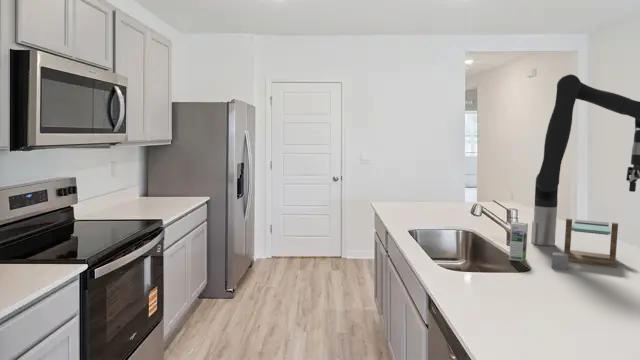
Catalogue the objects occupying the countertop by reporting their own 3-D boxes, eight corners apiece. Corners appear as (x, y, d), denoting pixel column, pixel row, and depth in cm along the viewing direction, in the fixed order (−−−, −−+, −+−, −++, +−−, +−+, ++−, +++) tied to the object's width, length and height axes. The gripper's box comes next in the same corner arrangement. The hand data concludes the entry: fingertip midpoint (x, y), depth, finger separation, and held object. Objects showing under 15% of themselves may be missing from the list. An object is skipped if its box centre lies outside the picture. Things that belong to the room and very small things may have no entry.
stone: (551, 267, 173) (552, 254, 173) (552, 264, 178) (553, 251, 177) (566, 270, 171) (567, 256, 170) (567, 267, 175) (568, 253, 175)
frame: (565, 251, 201) (567, 217, 199) (615, 257, 191) (617, 221, 190) (561, 260, 184) (564, 223, 183) (616, 267, 175) (618, 229, 174)
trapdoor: (573, 228, 200) (574, 219, 200) (609, 232, 194) (610, 222, 193) (570, 236, 183) (571, 226, 183) (609, 241, 176) (610, 230, 176)
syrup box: (508, 260, 183) (510, 223, 182) (510, 257, 189) (512, 221, 187) (524, 262, 181) (527, 224, 179) (526, 258, 186) (528, 222, 185)
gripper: (622, 153, 203) (619, 190, 204) (644, 154, 189) (640, 194, 190) (640, 153, 203) (636, 191, 204) (663, 154, 188) (659, 195, 190)
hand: (638, 192), depth 197 cm, fingers open, 8 cm apart
